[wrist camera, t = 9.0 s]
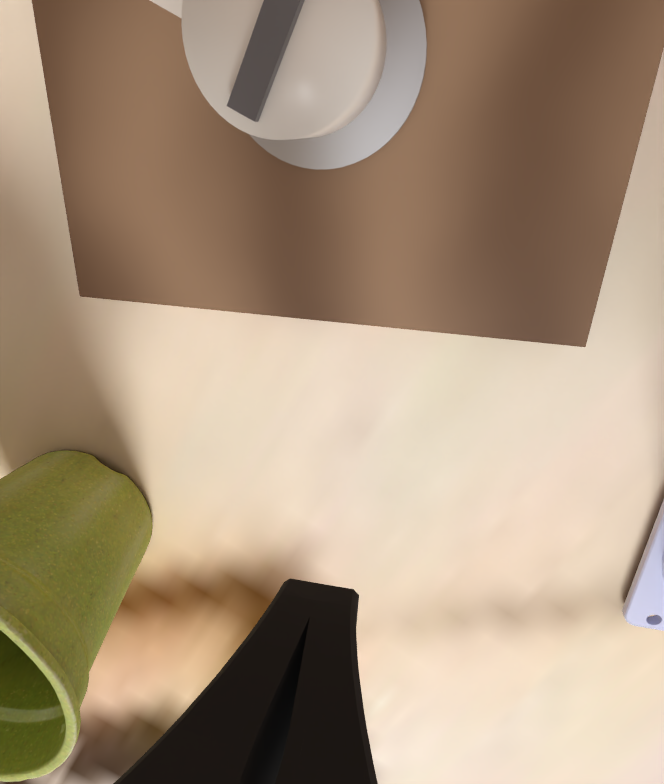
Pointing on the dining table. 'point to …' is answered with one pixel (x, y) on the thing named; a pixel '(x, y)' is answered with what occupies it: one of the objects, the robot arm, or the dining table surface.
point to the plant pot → (59, 596)
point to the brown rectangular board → (361, 169)
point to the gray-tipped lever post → (284, 61)
